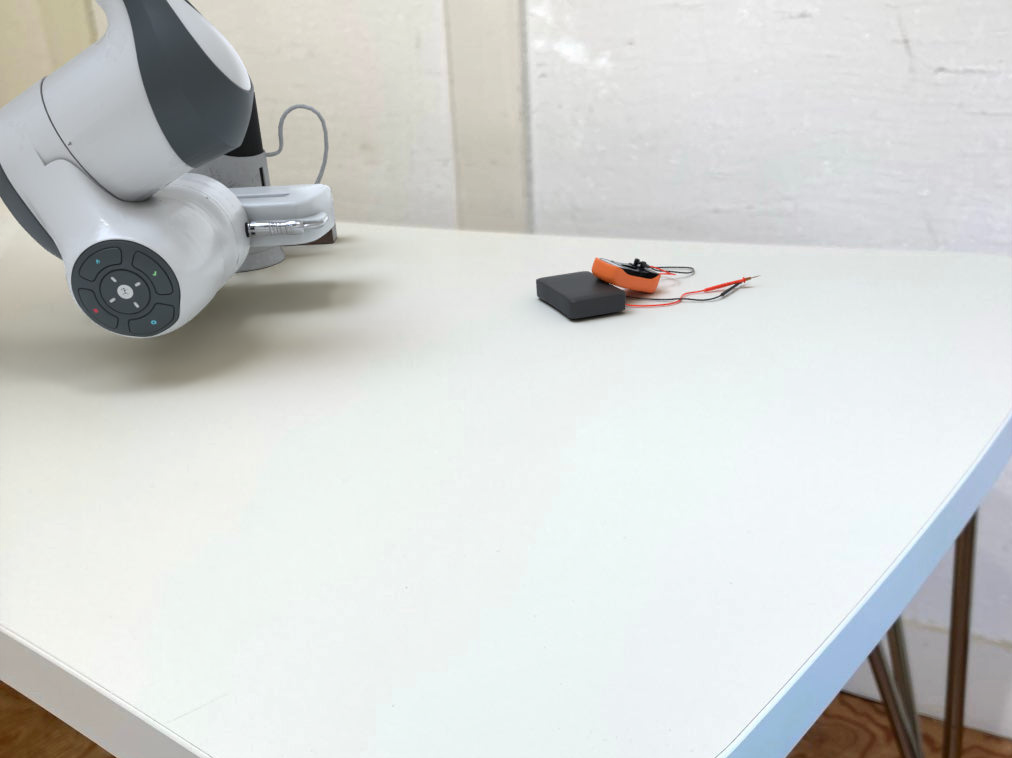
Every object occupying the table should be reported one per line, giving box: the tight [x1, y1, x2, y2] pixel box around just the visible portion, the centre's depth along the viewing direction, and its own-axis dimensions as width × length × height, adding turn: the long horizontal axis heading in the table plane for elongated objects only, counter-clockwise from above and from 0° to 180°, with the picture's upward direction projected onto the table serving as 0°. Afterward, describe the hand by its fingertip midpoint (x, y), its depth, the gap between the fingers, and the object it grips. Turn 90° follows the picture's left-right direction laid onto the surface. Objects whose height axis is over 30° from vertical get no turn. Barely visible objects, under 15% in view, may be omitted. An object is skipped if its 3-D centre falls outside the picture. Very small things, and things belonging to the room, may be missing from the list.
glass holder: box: [187, 91, 329, 273], centre depth 99 cm, size 9×14×15 cm, turn 96°
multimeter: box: [535, 256, 761, 319], centre depth 87 cm, size 18×12×3 cm, turn 107°
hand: (232, 197), depth 96 cm, fingers closed
